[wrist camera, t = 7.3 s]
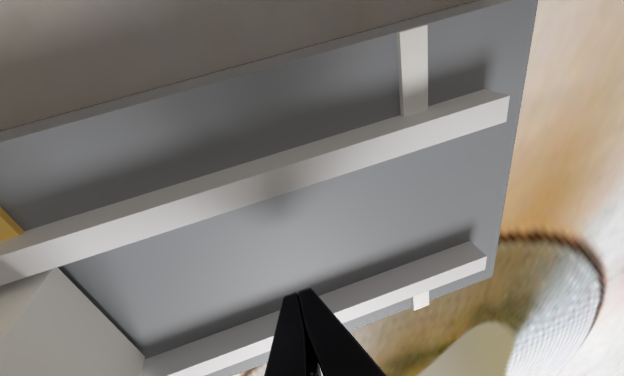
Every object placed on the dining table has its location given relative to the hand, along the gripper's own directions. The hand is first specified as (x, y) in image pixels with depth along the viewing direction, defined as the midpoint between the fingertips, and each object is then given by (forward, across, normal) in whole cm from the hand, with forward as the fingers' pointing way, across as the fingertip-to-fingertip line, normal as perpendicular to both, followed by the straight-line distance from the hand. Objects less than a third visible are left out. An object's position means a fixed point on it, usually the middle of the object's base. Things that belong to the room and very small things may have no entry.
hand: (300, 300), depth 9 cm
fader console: (+4, +2, 0) cm, 5 cm away
